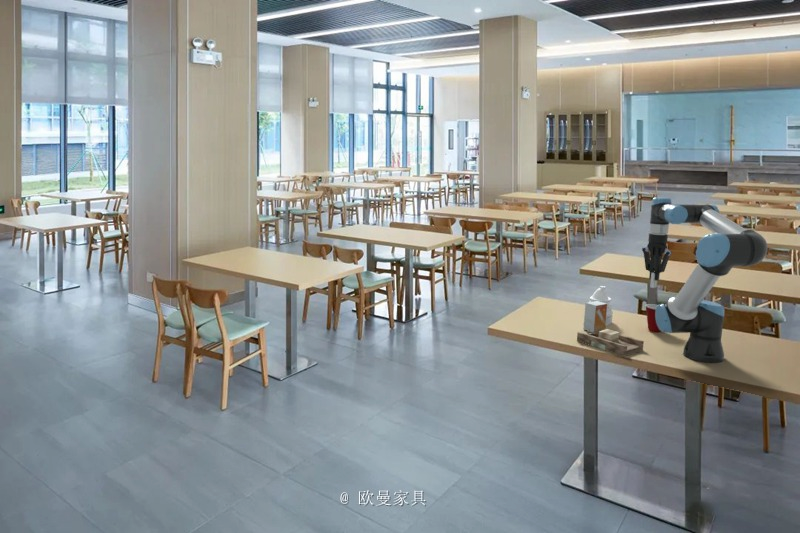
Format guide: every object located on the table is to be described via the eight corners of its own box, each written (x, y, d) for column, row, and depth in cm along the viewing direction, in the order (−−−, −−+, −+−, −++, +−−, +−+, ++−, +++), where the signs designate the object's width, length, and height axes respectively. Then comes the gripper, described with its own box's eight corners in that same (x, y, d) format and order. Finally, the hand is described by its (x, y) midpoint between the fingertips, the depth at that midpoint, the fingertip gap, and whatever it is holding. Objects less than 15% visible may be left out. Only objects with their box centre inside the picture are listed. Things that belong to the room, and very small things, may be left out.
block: (618, 341, 275) (619, 332, 274) (610, 343, 271) (611, 334, 270) (606, 337, 279) (607, 329, 279) (598, 340, 276) (599, 331, 275)
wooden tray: (642, 350, 270) (643, 341, 269) (624, 356, 262) (625, 346, 261) (595, 336, 288) (595, 327, 288) (576, 341, 281) (577, 332, 280)
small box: (593, 333, 293) (596, 305, 290) (582, 329, 298) (584, 302, 295) (605, 330, 297) (607, 303, 295) (594, 327, 302) (596, 300, 300)
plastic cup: (673, 333, 295) (675, 307, 292) (654, 335, 291) (657, 309, 289) (655, 326, 305) (658, 302, 302) (637, 328, 301) (640, 304, 298)
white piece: (616, 325, 307) (619, 288, 303) (591, 325, 305) (594, 288, 301) (604, 317, 319) (607, 282, 316) (580, 318, 317) (582, 282, 314)
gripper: (677, 234, 270) (672, 289, 275) (649, 231, 280) (644, 283, 285) (667, 236, 266) (662, 291, 270) (639, 232, 276) (634, 285, 280)
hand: (653, 287), depth 278 cm, fingers closed
